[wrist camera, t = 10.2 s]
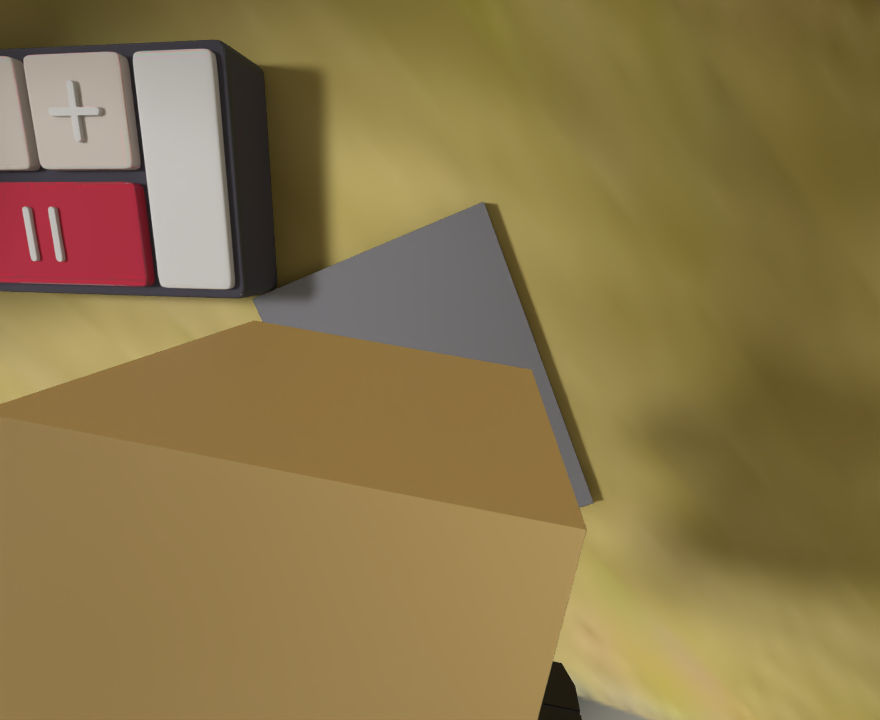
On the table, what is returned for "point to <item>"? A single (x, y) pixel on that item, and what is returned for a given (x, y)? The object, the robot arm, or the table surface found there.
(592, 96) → the table surface
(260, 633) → the ochre block
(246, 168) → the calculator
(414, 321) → the charcoal mat
